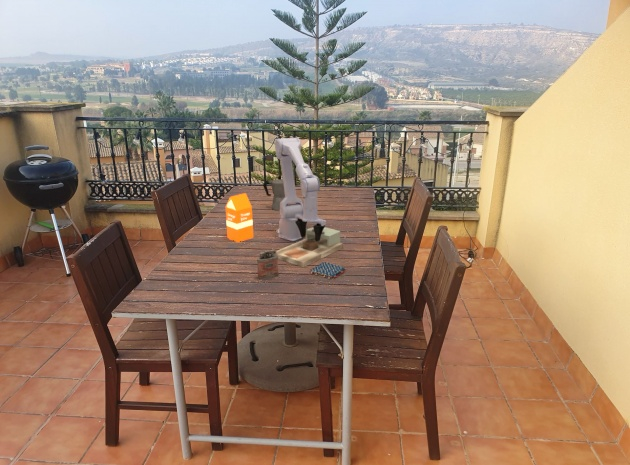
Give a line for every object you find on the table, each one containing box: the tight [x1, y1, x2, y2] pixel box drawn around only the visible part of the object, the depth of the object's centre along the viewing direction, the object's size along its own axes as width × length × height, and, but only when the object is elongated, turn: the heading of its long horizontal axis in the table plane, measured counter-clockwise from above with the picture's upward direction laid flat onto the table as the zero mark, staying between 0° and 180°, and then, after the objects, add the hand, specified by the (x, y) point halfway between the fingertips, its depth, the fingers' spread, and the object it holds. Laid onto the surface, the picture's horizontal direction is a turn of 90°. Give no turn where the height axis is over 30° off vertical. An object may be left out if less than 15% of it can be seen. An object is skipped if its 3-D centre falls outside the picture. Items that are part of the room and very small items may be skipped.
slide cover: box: [305, 226, 341, 247], centre depth 196 cm, size 12×8×6 cm, turn 51°
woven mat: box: [309, 261, 347, 281], centre depth 173 cm, size 10×11×2 cm
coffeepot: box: [262, 175, 289, 212], centre depth 247 cm, size 15×9×18 cm, turn 103°
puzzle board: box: [273, 237, 344, 268], centre depth 190 cm, size 16×26×2 cm, turn 141°
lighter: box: [256, 248, 280, 280], centre depth 168 cm, size 8×3×10 cm, turn 117°
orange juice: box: [225, 192, 254, 243], centre depth 204 cm, size 8×9×20 cm
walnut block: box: [303, 239, 318, 251], centre depth 191 cm, size 4×4×4 cm
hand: (310, 238), depth 190 cm, fingers open, 7 cm apart
